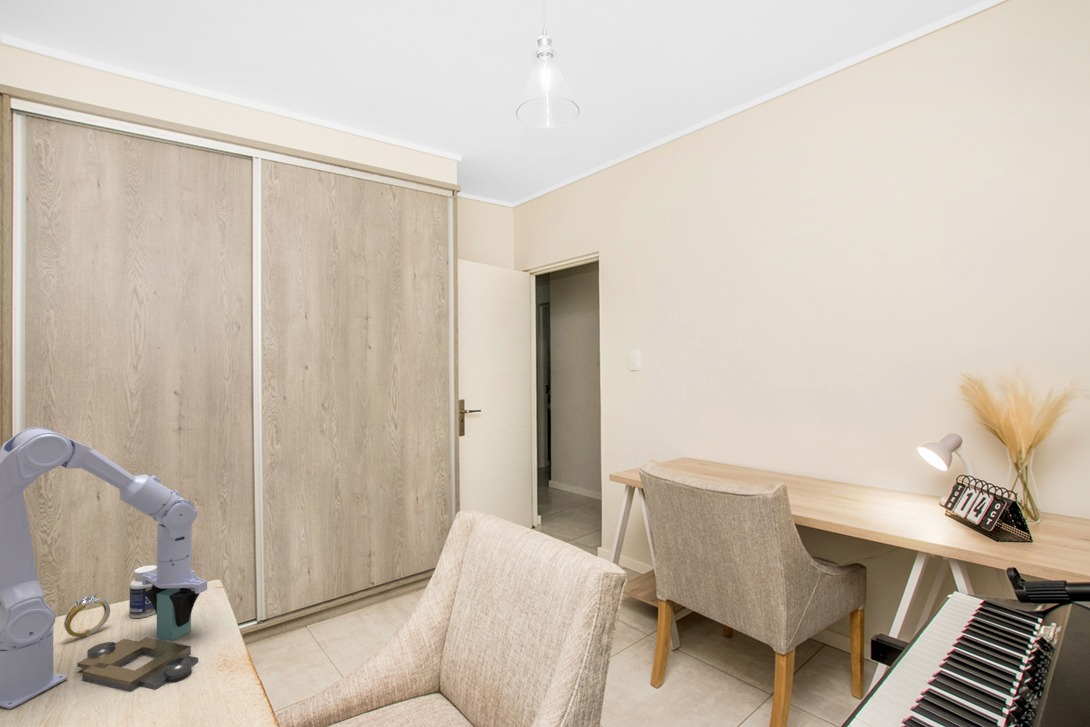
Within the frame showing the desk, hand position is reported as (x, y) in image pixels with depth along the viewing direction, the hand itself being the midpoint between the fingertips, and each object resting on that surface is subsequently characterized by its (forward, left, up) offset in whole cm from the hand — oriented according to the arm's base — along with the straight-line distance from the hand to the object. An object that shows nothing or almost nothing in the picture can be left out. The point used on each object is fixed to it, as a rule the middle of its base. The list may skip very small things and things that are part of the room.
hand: (174, 622), depth 103 cm
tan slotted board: (+1, -10, -2) cm, 10 cm away
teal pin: (0, 0, -2) cm, 2 cm away
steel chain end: (+7, -10, -2) cm, 12 cm away
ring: (-16, -5, -3) cm, 17 cm away
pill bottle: (-14, +5, -3) cm, 15 cm away
